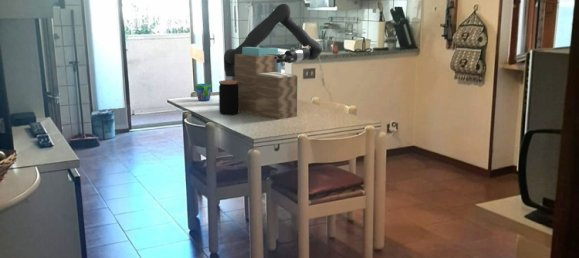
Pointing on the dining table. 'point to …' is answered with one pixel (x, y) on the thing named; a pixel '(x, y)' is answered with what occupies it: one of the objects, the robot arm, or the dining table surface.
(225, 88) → the coffee jar
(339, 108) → the dining table surface
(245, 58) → the step shelf
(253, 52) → the t bar
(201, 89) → the snack cup
